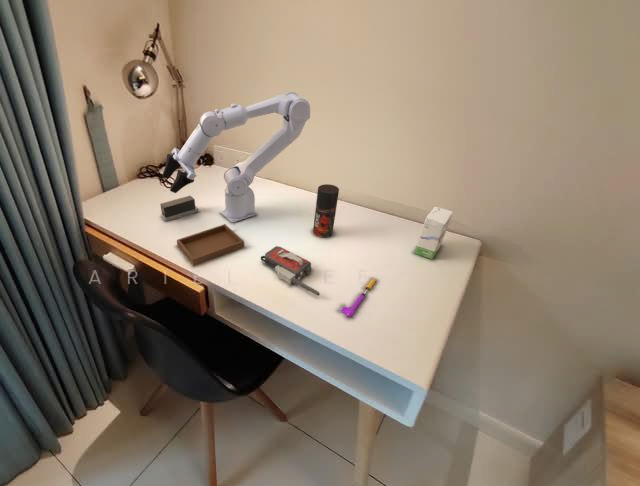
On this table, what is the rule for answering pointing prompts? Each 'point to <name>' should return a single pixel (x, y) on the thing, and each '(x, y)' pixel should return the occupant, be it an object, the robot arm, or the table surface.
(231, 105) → the robot arm
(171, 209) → the dark grey eraser block
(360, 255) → the table surface
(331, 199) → the deodorant
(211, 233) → the tray
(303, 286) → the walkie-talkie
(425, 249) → the ink box
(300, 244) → the table surface
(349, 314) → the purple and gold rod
